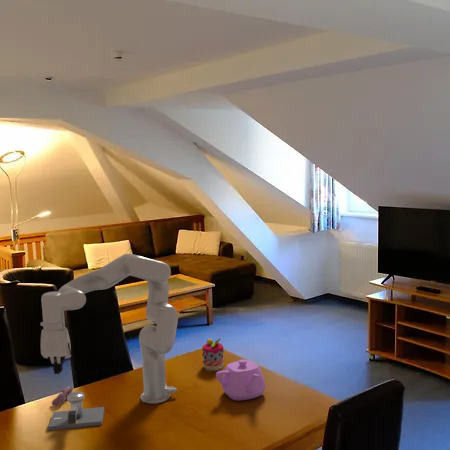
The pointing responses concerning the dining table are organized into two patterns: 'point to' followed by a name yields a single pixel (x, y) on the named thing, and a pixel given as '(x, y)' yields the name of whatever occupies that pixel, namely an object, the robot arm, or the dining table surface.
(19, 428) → the dining table surface
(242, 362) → the teapot
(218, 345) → the cake
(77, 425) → the base plate
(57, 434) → the dining table surface
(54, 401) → the video game controller
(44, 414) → the dining table surface
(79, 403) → the lever
